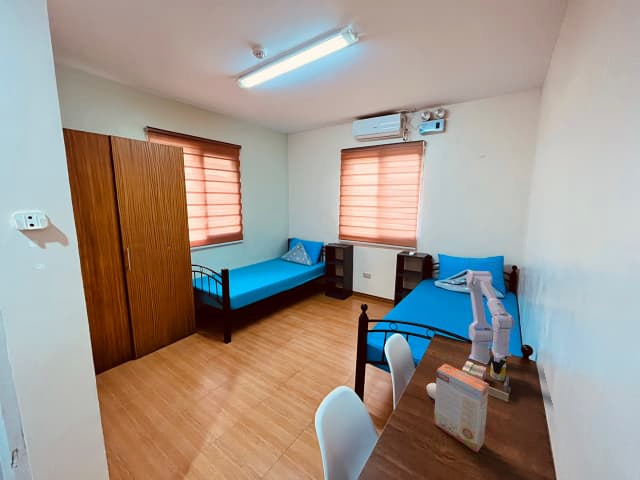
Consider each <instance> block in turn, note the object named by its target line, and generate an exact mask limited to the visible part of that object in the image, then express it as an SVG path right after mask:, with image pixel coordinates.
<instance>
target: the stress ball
mask: <svg viewBox="0 0 640 480" xmlns="http://www.w3.org/2000/svg"><path fill="white" fill-rule="evenodd" d="M426 392H427V394H428V395H429V396H430V397H431V398H432V403H434V402H435V396H436V383H435V382H431V383H430V382H429V384H427V385H426Z"/></svg>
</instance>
